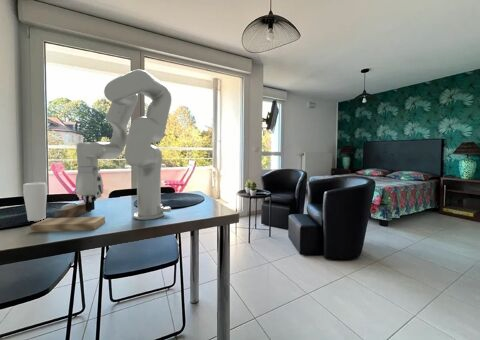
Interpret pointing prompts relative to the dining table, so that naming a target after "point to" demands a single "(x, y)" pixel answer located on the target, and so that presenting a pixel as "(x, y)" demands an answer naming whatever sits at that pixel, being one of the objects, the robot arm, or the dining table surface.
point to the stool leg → (71, 211)
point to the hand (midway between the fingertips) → (90, 210)
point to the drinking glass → (35, 200)
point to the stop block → (68, 205)
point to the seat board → (68, 224)
